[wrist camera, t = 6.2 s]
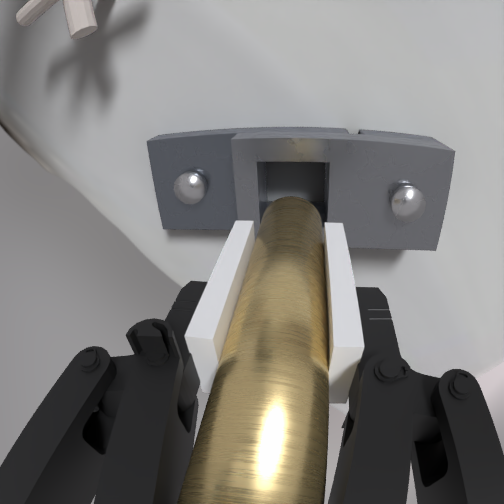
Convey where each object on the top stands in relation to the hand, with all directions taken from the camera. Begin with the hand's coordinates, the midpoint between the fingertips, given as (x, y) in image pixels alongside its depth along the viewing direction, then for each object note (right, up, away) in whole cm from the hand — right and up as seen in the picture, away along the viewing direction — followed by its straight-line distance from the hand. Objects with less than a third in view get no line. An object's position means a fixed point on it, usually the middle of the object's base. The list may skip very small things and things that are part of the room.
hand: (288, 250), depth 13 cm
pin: (0, +1, +2) cm, 3 cm away
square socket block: (+2, +5, +8) cm, 10 cm away
